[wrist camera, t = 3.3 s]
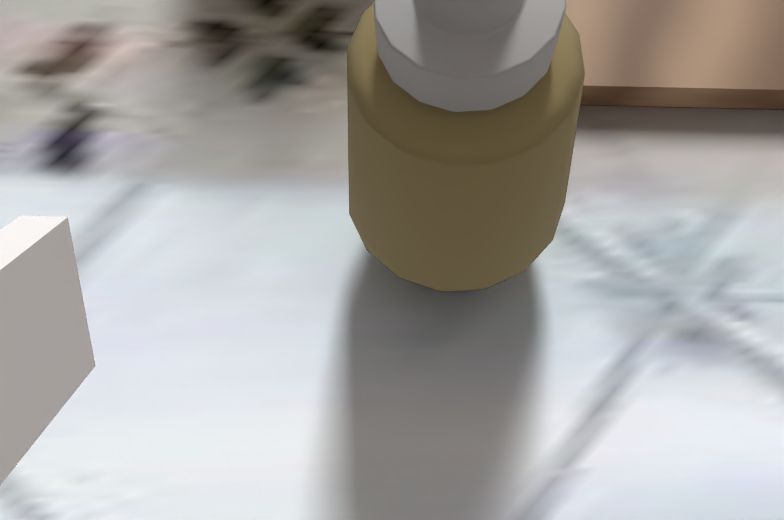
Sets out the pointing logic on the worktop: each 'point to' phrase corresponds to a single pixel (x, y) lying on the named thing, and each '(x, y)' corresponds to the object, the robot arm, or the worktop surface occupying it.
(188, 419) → the worktop surface
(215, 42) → the worktop surface
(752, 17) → the walnut board
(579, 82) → the squeeze bottle
